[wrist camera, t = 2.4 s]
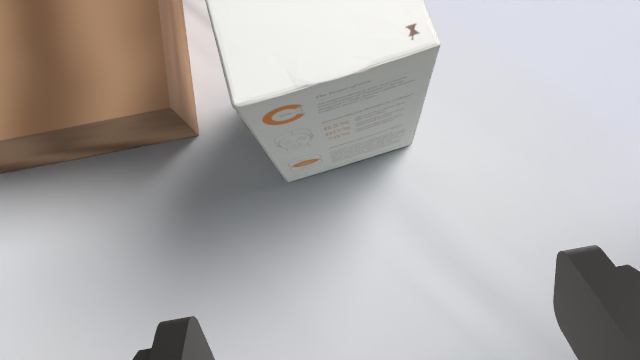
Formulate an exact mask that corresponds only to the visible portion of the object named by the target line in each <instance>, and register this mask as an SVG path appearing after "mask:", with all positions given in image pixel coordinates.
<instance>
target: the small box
mask: <svg viewBox="0 0 640 360" xmlns="http://www.w3.org/2000/svg"><path fill="white" fill-rule="evenodd" d="M205 1H206V5H207V9H208V13H209V17H210V21H211V25H212V29H213V33H214V36H215V40H216V44H217V48H218V52H219V56H220V60H221V64H222V68H223V72H224V76H225V80H226V84H227V88H228V92H229V96H230V100H231V104H232V106H233V108H234V109H235V110H236V111H237V113H238V114H239V115H240V117H241V118H242V119H243V121H244V122H245V123H246V125H247V126H248V128H249V129H250V130H251V132H252V133H253V135H254V136H255V138H256V139H257V140H258V142H259V143H260V145H261V146H262V148H263V149H264V150H265V152H266V153H267V155H268V156H269V158H270V159H271V161H272V162H273V163H274V165H275V166H276V168H277V169H278V170H279V172H280V173H281V175H282V176H283V177H284V179H285V180H286V181H287V182H291V181H295V180H298V179H301V178H305V177H308V176H311V175H315V174H318V173H321V172H325V171H328V170H331V169H334V168H338V167H341V166H344V165H347V164H350V163H354V162H357V161H360V160H363V159H367V158H370V157H373V156H376V155H380V154H383V153H386V152H389V151H392V150H395V149H398V148H401V147H404V146H408V145H410V144H412V141H413V138H414V135H415V131H416V128H417V124H418V121H419V118H420V114H421V111H422V107H423V104H424V100H425V96H426V93H427V89H428V86H429V82H430V79H431V75H432V72H433V68H434V65H435V61H436V58H437V54H438V51H439V48H440V41H439V39H438V37H437V34H436V32H435V29H434V27H433V25H432V22H431V20H430V17H429V15H428V12H427V10H426V7H425V5H424V2H423V0H205Z"/></svg>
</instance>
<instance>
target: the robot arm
mask: <svg viewBox="0 0 640 360" xmlns="http://www.w3.org/2000/svg"><path fill="white" fill-rule="evenodd" d="M553 304H554V311H555V315H556V319H557V322H558V324H559V327H560V329H561V331H562V332H563V334H564V336H565V337H566V339H567V341H568V343H569V344H570V346H571V348H572V349H573V351H574V353H575V355H576V356H577V358H578V360H640V272H639V271H638V270H636V269H635V268H633V267H631V266H630V265H624V266H618V267H616V266H615V265H614V264H613V263H612V261H611V260H610V259H609V258H608V257H607V255H606V254H605V253H604V252H603V250H602V249H601V248H600V247H598V246H596V245H593V246H588V247H582V248H576V249H571V250H565V251H560V252H559V253H558V255H557V259H556V273H555V286H554V299H553ZM133 360H215V359H214V357H213V354H212V352H211V350H210V347H209V345H208V343H207V341H206V338H205V336H204V334H203V331H202V329H201V327H200V324H199V322H198V320H197V319H196V318H195V317H194V316H192V317H186V318H181V319H175V320H169V321H164V322H160V323H159V325H158V327H157V329H156V333H155V337H154V341H153V345H152V348H150V349H145V350H139V351H138V352H137V354H136V355H135V357H134V358H133Z"/></svg>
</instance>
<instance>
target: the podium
mask: <svg viewBox="0 0 640 360" xmlns="http://www.w3.org/2000/svg"><path fill="white" fill-rule="evenodd" d="M198 135H199V132H198V124H197V116H196V108H195V100H194V92H193V84H192V76H191V68H190V61H189V53H188V45H187V37H186V29H185V21H184V13H183V5H182V0H0V173H5V172H11V171H16V170H21V169H26V168H31V167H37V166H42V165H47V164H52V163H57V162H63V161H68V160H73V159H78V158H83V157H89V156H94V155H99V154H104V153H109V152H115V151H120V150H125V149H130V148H135V147H141V146H146V145H151V144H156V143H161V142H167V141H172V140H177V139H182V138H187V137H193V136H198Z"/></svg>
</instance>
